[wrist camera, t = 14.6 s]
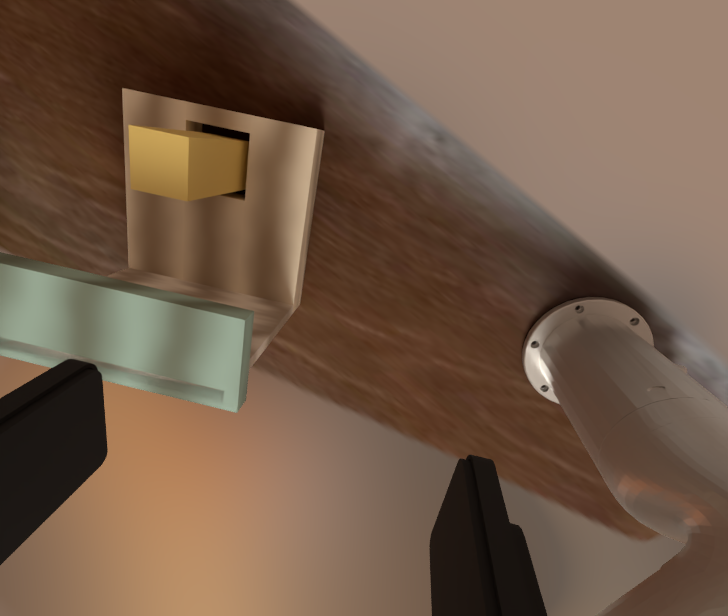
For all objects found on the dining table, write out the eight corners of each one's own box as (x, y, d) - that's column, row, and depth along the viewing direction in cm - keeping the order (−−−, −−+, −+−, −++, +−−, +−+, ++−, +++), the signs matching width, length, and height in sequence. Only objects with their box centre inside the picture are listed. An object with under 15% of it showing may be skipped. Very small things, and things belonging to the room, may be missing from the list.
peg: (254, 142, 38) (188, 137, 27) (250, 188, 40) (187, 201, 29) (211, 133, 38) (128, 124, 27) (209, 179, 40) (130, 188, 29)
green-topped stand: (334, 133, 37) (262, 113, 20) (308, 310, 44) (237, 412, 27) (133, 90, 38) (-110, 35, 20) (138, 271, 45) (-39, 345, 27)
